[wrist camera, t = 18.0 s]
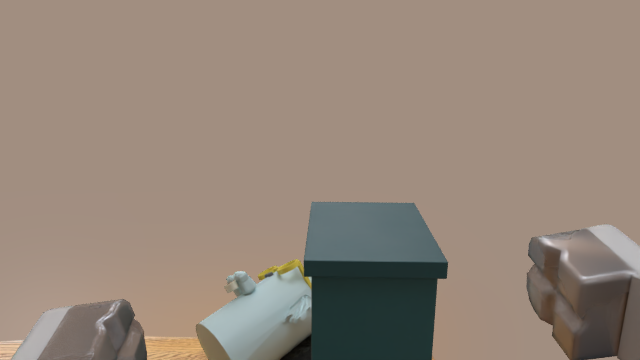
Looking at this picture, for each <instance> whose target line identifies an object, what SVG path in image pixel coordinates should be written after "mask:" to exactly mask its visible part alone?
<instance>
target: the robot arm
mask: <svg viewBox="0 0 640 360" xmlns="http://www.w3.org/2000/svg"><path fill="white" fill-rule="evenodd" d="M528 251H529V252H528V256H529V257H530V258H531V259H532V261H533V262H534V263H535V264H534V265H533V267H532V268H531V269H530V270H529V272H528V273H527V291H528V295H529V299H530V302H531V304H532V307H533V309H534V310H535V312H536V314H537V315H538V317H539V318H540V319H541V320H543V321H545V322H547V323H549V324H551V325H553V332H552V336H553V338H554V339H555V340H556V341H557V343H558V344H559V346H560V347H561V348H562V350H563V351H564V353H566V355H567V357H568V358H569V359H570V360H588V359H596V358H604V357H612V356H617V358H618V359H620V360H640V246H639V245H637V244H636V243H635V242H633V241H632V240H631V239H630V238H628V237H627V236H626V235H624V234H623V233H622V232H621V231H620V230H618V229H617V228H616V227H614V226H611V225H608V224H605V225H599V226H594V227H588V228H583V229H581V230H575V231H569V232H563V233H557V234H550V235H545V236H538V237H533V238H531V241H530V243H529V250H528ZM134 316H135V314H134V312H133V310H132V307H131V305H130V303H129V302H128V301H126V300H124V299H120V300H114V301H105V302H98V303H90V304H82V305H76V306H68V307H61V308H55V309H50V310H48V311H46V312H44V313H43V314H42V315H41V317H40V318H39V320H38V321H37V323H36V324H35V325H34V327H33V329H32V330H31V331H30V333H29V334H28V335H27V337H26V339H25V340H24V341H23V343H22V344H21V346H20V347H19V348H18V350H17V351H16V353H15V354H14V356H13V357H12V358H11V360H147V351H146V345H145V341H144V338H143V335H142V332H140V331H139V330H137V329H136V328H134V327H133V326H131V323H132V321H133V319H134Z"/></svg>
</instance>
